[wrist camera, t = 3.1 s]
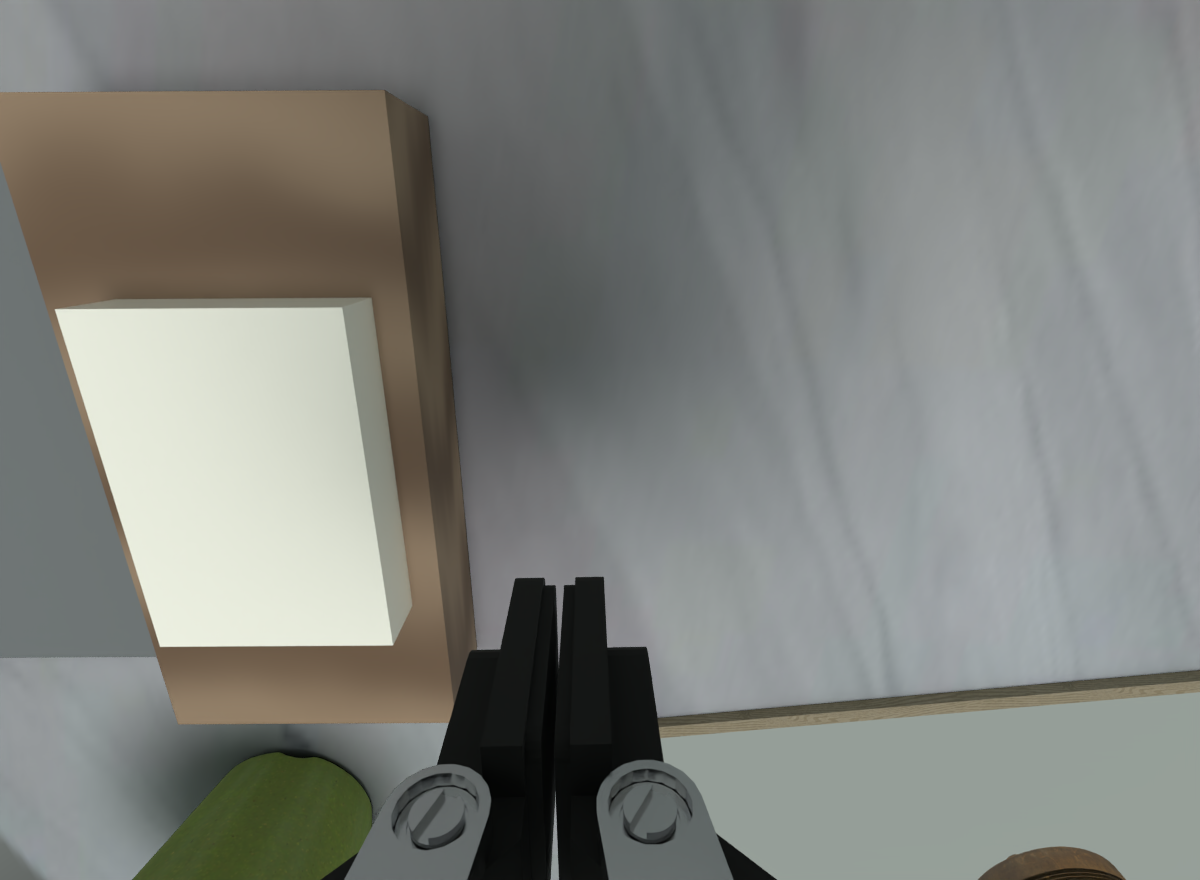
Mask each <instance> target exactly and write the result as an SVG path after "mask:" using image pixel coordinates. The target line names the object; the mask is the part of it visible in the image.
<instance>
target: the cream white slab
mask: <svg viewBox="0 0 1200 880" xmlns="http://www.w3.org/2000/svg"><path fill="white" fill-rule="evenodd" d="M55 312H56V315H57V318H58V321H59V325H60V328H61V331H62V334H63V337H64V341H65V344H66V347H67V350H68V353H69V357H70V360H71V363H72V366H73V369H74V373H75V376H76V379H77V382H78V385H79V389H80V392H81V395H82V398H83V401H84V405H85V408H86V411H87V414H88V418H89V421H90V424H91V427H92V430H93V434H94V437H95V440H96V443H97V446H98V450H99V453H100V456H101V459H102V462H103V466H104V469H105V472H106V475H107V478H108V482H109V485H110V488H111V491H112V494H113V498H114V501H115V504H116V507H117V510H118V514H119V517H120V520H121V523H122V526H123V530H124V533H125V536H126V539H127V542H128V546H129V549H130V552H131V555H132V559H133V562H134V565H135V568H136V571H137V575H138V578H139V581H140V584H141V587H142V591H143V594H144V597H145V600H146V603H147V607H148V610H149V613H150V616H151V619H152V623H153V626H154V629H155V632H156V635H157V639H158V642H159V645H160V647H217V646H387V645H394V642H395V640H396V638H397V636H398V634H399V632H400V630H401V628H402V626H403V624H404V622H405V620H406V618H407V616H408V614H409V612H410V609H411V607H412V598H411V591H410V583H409V576H408V568H407V561H406V553H405V546H404V538H403V531H402V523H401V516H400V508H399V501H398V493H397V486H396V478H395V471H394V463H393V456H392V448H391V441H390V433H389V426H388V418H387V411H386V403H385V396H384V388H383V381H382V373H381V366H380V358H379V351H378V343H377V336H376V328H375V321H374V313H373V306H372V298H232V299H115V300H109V301H103V302H96V303H90V304H84V305H78V306H72V307H66V308H60V309H55Z"/></svg>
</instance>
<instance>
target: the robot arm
mask: <svg viewBox="0 0 1200 880" xmlns="http://www.w3.org/2000/svg"><path fill="white" fill-rule="evenodd" d="M555 791H556V812H557V838H558V864H559V880H777V879H776V878H774V877H773V876H772V875H770V874H769V873H768V872H766V871H765V870H764V869H762V868H761V867H760V866H758V865H757V864H756V863H755V862H753V861H752V860H751V859H749V858H748V857H747V856H745V855H744V854H743V853H741V852H740V851H739V850H738V849H736V848H735V847H734V846H732V845H731V844H730V843H728V842H727V841H726V840H724V839H723V838H722V837H720V836H719V835H718V834H717V833H716V832H715V829H714V827H713V824H712V821H711V819H710V816H709V813H708V811H707V808H706V805H705V803H704V800H703V797H702V795H701V793H700V792H699V790H698V788H697V786H696V785H695V783H694V782H693V781H692V780H691V779H690V778H689V777H688V776H687V775H686V774H685V773H684V772H683V771H681V770H679V769H678V768H676V767H674V766H672V765H670V764H668V763H664V759H663V752H662V746H661V739H660V732H659V725H658V718H657V711H656V705H655V698H654V691H653V684H652V677H651V670H650V664H649V657H648V651H647V648H646V647H613V648H607V634H606V614H605V594H604V577H576V578H575V585H564V597H563V612H562V628H561V643H560V658H559V664H558V635H557V605H556V586H555V585H547V586H545V579H544V578H516V579H515V582H514V587H513V592H512V597H511V601H510V606H509V611H508V616H507V620H506V625H505V630H504V635H503V639H502V644H501V649H500V650H471V651H470V652H469V655H468V658H467V661H466V665H465V668H464V672H463V675H462V679H461V682H460V686H459V689H458V693H457V696H456V700H455V703H454V707H453V710H452V714H451V717H450V721H449V724H448V728H447V731H446V735H445V739H444V742H443V746H442V749H441V753H440V756H439V760H438V763H437V765H436V766H433V767H429V768H425V769H422V770H421V771H419V772H417V773H415V774H413V775H411V776H409V777H408V778H406V779H405V780H404V781H403V782H402V783H401V784H400V785H398V786H397V787H396V788H395V789H394V790H393V792H392V793H391V795H390V796H389V797H388V799H387V800H386V802H385V803H384V805H383V807H382V809H381V811H380V813H379V814H378V816H377V818H376V820H375V822H374V824H373V826H372V828H371V830H370V832H369V833H368V835H367V837H366V839H365V841H364V843H363V845H362V847H361V849H360V851H359V852H358V853H357V854H355V855H354V856H352V857H351V858H350V859H348V860H347V861H346V862H344V863H343V864H341V865H340V866H339V867H337V868H336V869H335V870H333V871H332V872H330V873H329V874H328V875H326V876H325V877H324V878H322V879H321V880H550V879H551V861H552V844H553V826H554V808H555Z"/></svg>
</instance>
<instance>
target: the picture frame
mask: <svg viewBox="0 0 1200 880" xmlns="http://www.w3.org/2000/svg"><path fill="white" fill-rule="evenodd" d="M658 725H659V732H660V739H661V746H662V752H663V759H664V763H668V764H670V765H672V766H674V767H676V768H678V769H679V770H681V771H683V772H684V773H685V774H686V775H687V776H688V777H689V778H690V779H691V780H692V781H693V782H694V783H695V785H696V786H697V788H698V790H699V792H700V793H701V795H702V797H703V800H704V803H705V805H706V808H707V811H708V813H709V816H710V819H711V821H712V824H713V827H714V829H715V832H716V833H717V834H718V835H719V836H720V837H722V838H723V839H724V840H726V841H727V842H728V843H730V844H731V845H732V846H734V847H735V848H736V849H738V850H739V851H740V852H741V853H743V854H744V855H745V856H747V857H748V858H749V859H751V860H752V861H753V862H755V863H756V864H757V865H758V866H760V867H761V868H762V869H764V870H765V871H766V872H768V873H769V874H770V875H772V876H773V877H774V878H776V879H777V880H1200V670H1197V671H1186V672H1175V673H1163V674H1152V675H1141V676H1129V677H1118V678H1107V679H1095V680H1084V681H1073V682H1062V683H1050V684H1039V685H1028V686H1016V687H1005V688H994V689H982V690H971V691H960V692H948V693H937V694H926V695H914V696H903V697H892V698H880V699H869V700H858V701H846V702H835V703H824V704H813V705H801V706H790V707H779V708H767V709H756V710H745V711H733V712H722V713H711V714H699V715H688V716H677V717H665V718H658Z"/></svg>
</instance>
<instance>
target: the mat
mask: <svg viewBox="0 0 1200 880" xmlns="http://www.w3.org/2000/svg"><path fill="white" fill-rule="evenodd" d="M26 657H157V656H156V653H155V649H154V646H153V643H152V640H151V637H150V634H149V630H148V627H147V624H146V621H145V618H144V615H143V611H142V608H141V605H140V602H139V599H138V596H137V592H136V589H135V586H134V583H133V580H132V577H131V574H130V570H129V567H128V564H127V561H126V558H125V555H124V551H123V548H122V545H121V542H120V539H119V536H118V532H117V529H116V526H115V523H114V520H113V517H112V513H111V510H110V507H109V504H108V501H107V498H106V495H105V491H104V488H103V485H102V482H101V479H100V476H99V472H98V469H97V466H96V463H95V460H94V457H93V453H92V450H91V447H90V444H89V441H88V438H87V434H86V431H85V428H84V425H83V422H82V419H81V416H80V412H79V409H78V406H77V403H76V400H75V397H74V393H73V390H72V387H71V384H70V381H69V378H68V374H67V371H66V368H65V365H64V362H63V359H62V355H61V352H60V349H59V346H58V343H57V340H56V337H55V333H54V330H53V327H52V324H51V321H50V318H49V314H48V311H47V308H46V305H45V302H44V299H43V295H42V292H41V289H40V286H39V283H38V280H37V276H36V273H35V270H34V267H33V264H32V261H31V258H30V254H29V251H28V248H27V245H26V242H25V239H24V235H23V232H22V229H21V226H20V223H19V220H18V216H17V213H16V210H15V207H14V204H13V201H12V197H11V194H10V191H9V188H8V185H7V182H6V179H5V175H4V172H3V169H2V166H1V163H0V658H26Z"/></svg>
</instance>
